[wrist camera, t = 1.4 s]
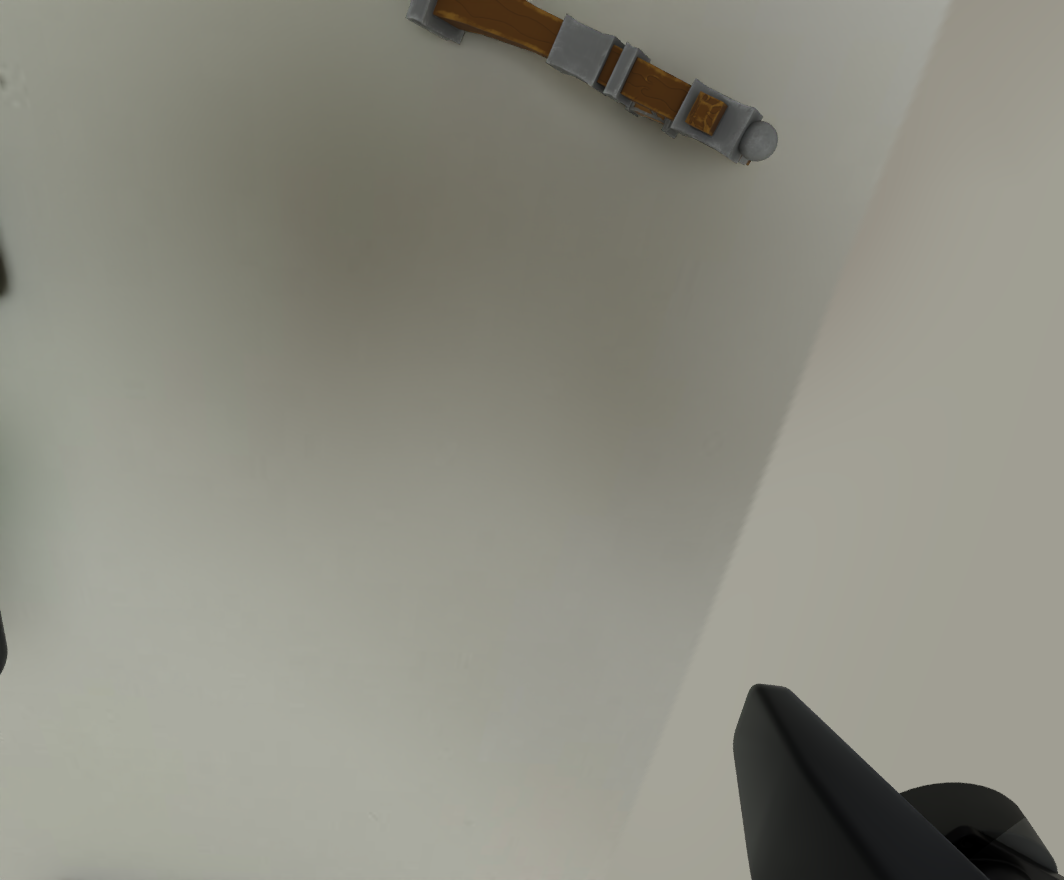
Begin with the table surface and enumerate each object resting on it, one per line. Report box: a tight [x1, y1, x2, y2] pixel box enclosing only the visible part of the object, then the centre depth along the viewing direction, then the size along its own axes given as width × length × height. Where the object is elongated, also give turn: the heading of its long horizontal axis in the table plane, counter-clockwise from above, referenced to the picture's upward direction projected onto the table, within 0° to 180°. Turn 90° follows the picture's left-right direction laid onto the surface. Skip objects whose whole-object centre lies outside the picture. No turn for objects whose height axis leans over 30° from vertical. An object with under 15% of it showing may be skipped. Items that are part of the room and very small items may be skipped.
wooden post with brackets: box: [406, 0, 778, 165], centre depth 16 cm, size 2×8×4 cm, turn 65°
